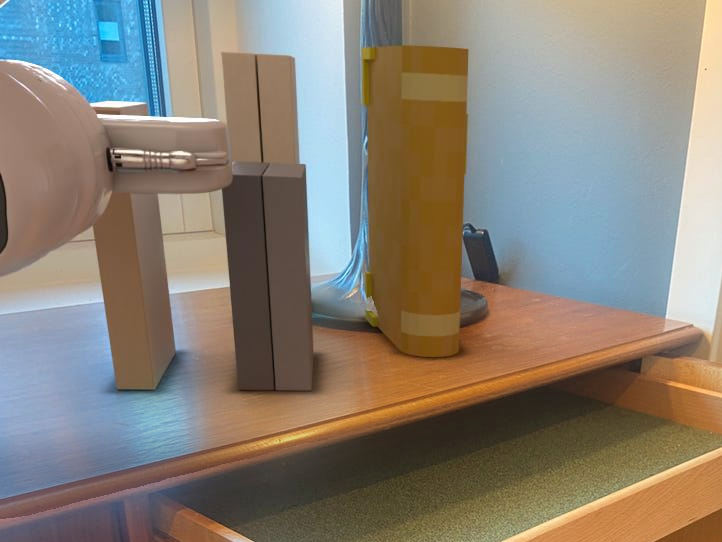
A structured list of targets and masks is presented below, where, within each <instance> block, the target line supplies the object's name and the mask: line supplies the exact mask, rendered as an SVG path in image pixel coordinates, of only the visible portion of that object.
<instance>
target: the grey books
mask: <svg viewBox="0 0 722 542" xmlns="http://www.w3.org/2000/svg"><path fill="white" fill-rule="evenodd" d="M232 171H233V179H232V183H231V184H230V185H229V186H227V187H225V188H223V189H221V195H222V197H221V198H222V207H223V220H224V221H223V222H224V233H225V244H226V254H227V255H226V257H227V271H228V281H229V292H230V306H231V316H232V328H233V340H234V341H233V342H234V354H235V355H234V356H235V365H236V366H235V367H236V377H237V379H236V380H237V388H238V391H291V392H292V391H295V392H296V391H297V392H299V391H300V392H306V391H307V392H310V391H311V392H312V386H313V373H314V372H313V371H314V370H313V369H314V355H315V354H314V327H313V307H312V306H313V305H312V284H311V283H312V282H311V281H312V280H311V259H310V234H309V212H308V211H309V208H308V187H307V184H308V183H307V165H306V163H300V164H291V163H271V164H270V163H265V162H240V161H235V162H234V163H233V164H232Z"/></svg>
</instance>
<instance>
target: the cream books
mask: <svg viewBox="0 0 722 542" xmlns="http://www.w3.org/2000/svg"><path fill="white" fill-rule="evenodd" d="M220 54H221V67H222V82H223V95H224V107H225V121H226V124H227V126H228V129H229V135H230V144H231V154H232V164H233V163H234V162H235V161H240V162H265V163H270V164H271V163H291V164H301V159H300V138H299V137H300V136H299V118H298V117H299V116H298V114H299V113H298V95H297V94H298V93H297V72H296V70H297V69H296V58H295V57H294V56H292V55H286V54H271V53H267V54H266V53H253V52H234V51H221V52H220Z"/></svg>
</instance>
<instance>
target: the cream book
mask: <svg viewBox="0 0 722 542" xmlns="http://www.w3.org/2000/svg"><path fill="white" fill-rule="evenodd" d="M89 104H90V105H91V106H92V108H93V109H94V111H95V112H96V114H97V115H118V116H144V117H150V113H149V104H148V102H140V101H116V100H107V101H106V100H105V101H99V102H98V101H97V102H93V103H92V102H91V103H89ZM92 232H93V237H94V244H95V251H96V257H97V264H98V272H99V279H100V285H101V292H102V299H103V307H104V312H105V318H106V319H105V320H106V326H107V332H108V339H109V340H108V341H109V345H110V352H111V359H112V367H113V373H114V380H115V386H116V389H117V390H148V391H149V390H153V391H154V390H156V389H157V387H158V386H159V384H160V381H161V380H162V379H163V376H164V375H165V373H166V370H168V367H169V365H170V363H172V360H173V358H174V356H175V355H176V353H177V351H176V350H177V349H176V341H175V333H174V325H173V316H172V315H173V314H172V306H171V298H170V289H169V288H170V287H169V281H168V270H167V263H166V255H165V246H164V237H163V229H162V220H161V210H160V202H159V194H136V193H111V196H110V200H109V202H108V204H107V207H106V208H105V210H104V212H103V214H102V215H101V216H100V218H99V219H98V220H97V221H96V223H95V224H94V225H93V226H92Z"/></svg>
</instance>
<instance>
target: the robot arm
mask: <svg viewBox="0 0 722 542" xmlns="http://www.w3.org/2000/svg"><path fill="white" fill-rule="evenodd" d="M9 1H10V0H0V8H2V7H3V6H4V5H5V4H7V3H8V2H9ZM232 179H233V171H232V154H231V144H230V135H229V129H228V126H227V122H224V121H222V120H219V119H212V118H198V117H197V118H195V117H193V118H192V117H169V116H168V117H167V116H165V117H164V116H149V117H144V116H118V115H97V114H96V112H95V111H94V109H93V108H92V106H91V105H90V103H89V101H88V99H87V98H85V96H84V95H83V94H82V93H81V92H80V91H79V90H78V89H77V88H76V87H75V86H73V85H72V84H71V83H70V82H68V81H67V80H66V79H64V78H63V77H61V76H60V75H59V74H56V73H54V72H53V71H51V70H49V69H47V68H45V67H43V66H40V65H37V64H35V63H31V62H28V61H23V60H14V59H0V278H2V277H3V278H4V277H6V276H9V275H10V276H11V275H12V274H16V273H17V272H20V271H22V270H25V269H26V268H28V267H30V266H32V265H33V264H35V263H37V262H38V261H40V260H41V259H43V258H45V257H46V256H47V255H48V254H50V253H51V252H53V251H55V250H57V249H59V248H61V247H63V246H65V245H67V244H68V243H69V242H71V241H72V240H74V239H76V238H77V237H79V236H81V235H82V234H84V233H85V232H87V231H88V230H89V229H90V228H93V225H94V224H95V223H96V221H97V220H98V219H99V218H100V216H101V215H102V214H103V212H104V210H105V208H106V207H107V204H108V202H109V200H110V196H111V193H136V194H158V195H176V196H177V195H178V196H179V195H181V196H182V195H199V194H200V195H201V194H207V193H213V192H217V191H220V190H222V189H223V188H225V187H227V186H229V185H230V184H231V183H232Z"/></svg>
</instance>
